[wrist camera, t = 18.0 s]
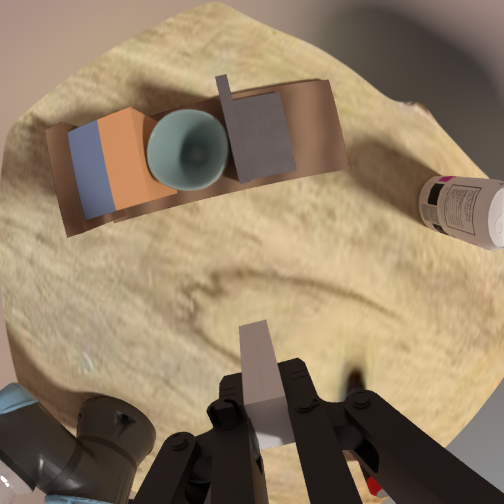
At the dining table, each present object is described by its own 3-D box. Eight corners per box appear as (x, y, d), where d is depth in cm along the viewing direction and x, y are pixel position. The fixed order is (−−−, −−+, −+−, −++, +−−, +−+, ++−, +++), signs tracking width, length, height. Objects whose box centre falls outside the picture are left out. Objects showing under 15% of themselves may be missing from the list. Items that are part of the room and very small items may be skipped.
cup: (239, 131, 36) (238, 116, 26) (224, 193, 37) (218, 199, 28) (177, 120, 35) (156, 102, 25) (163, 181, 37) (137, 183, 27)
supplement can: (440, 164, 38) (510, 166, 24) (463, 207, 40) (531, 223, 26) (406, 198, 40) (474, 211, 25) (432, 241, 41) (498, 269, 27)
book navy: (126, 207, 37) (85, 220, 27) (112, 140, 35) (67, 132, 24) (151, 200, 37) (115, 211, 26) (136, 132, 35) (96, 119, 24)
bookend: (239, 182, 37) (239, 184, 26) (222, 104, 35) (215, 76, 24) (296, 170, 37) (318, 168, 26) (278, 93, 34) (292, 62, 24)
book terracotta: (151, 200, 37) (116, 210, 27) (136, 132, 35) (97, 119, 24) (177, 193, 37) (149, 201, 26) (162, 123, 35) (129, 106, 24)
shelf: (117, 221, 39) (68, 242, 26) (98, 137, 36) (44, 125, 23) (346, 168, 38) (392, 167, 26) (326, 82, 35) (361, 45, 23)
